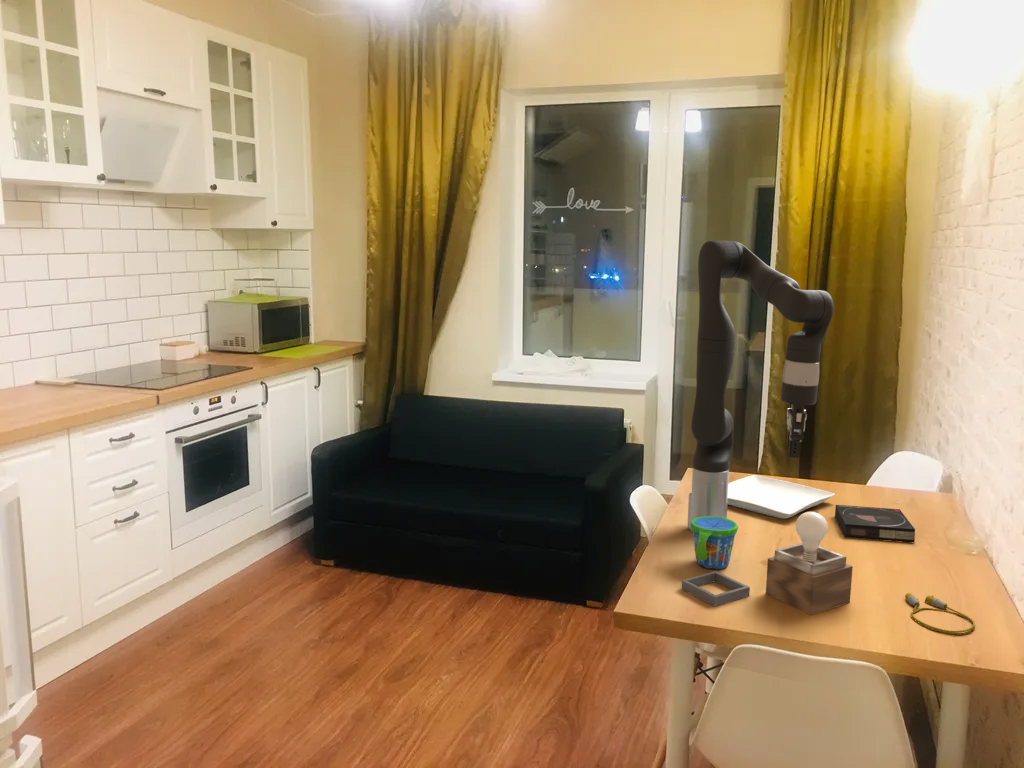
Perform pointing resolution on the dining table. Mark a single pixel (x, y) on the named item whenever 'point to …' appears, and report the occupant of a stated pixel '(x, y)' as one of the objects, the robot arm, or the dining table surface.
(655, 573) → the dining table surface
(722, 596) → the frame
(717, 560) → the snack cup
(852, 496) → the dining table surface
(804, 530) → the lightbulb
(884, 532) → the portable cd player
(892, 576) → the dining table surface
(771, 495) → the square plate
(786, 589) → the walnut stand
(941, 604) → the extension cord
